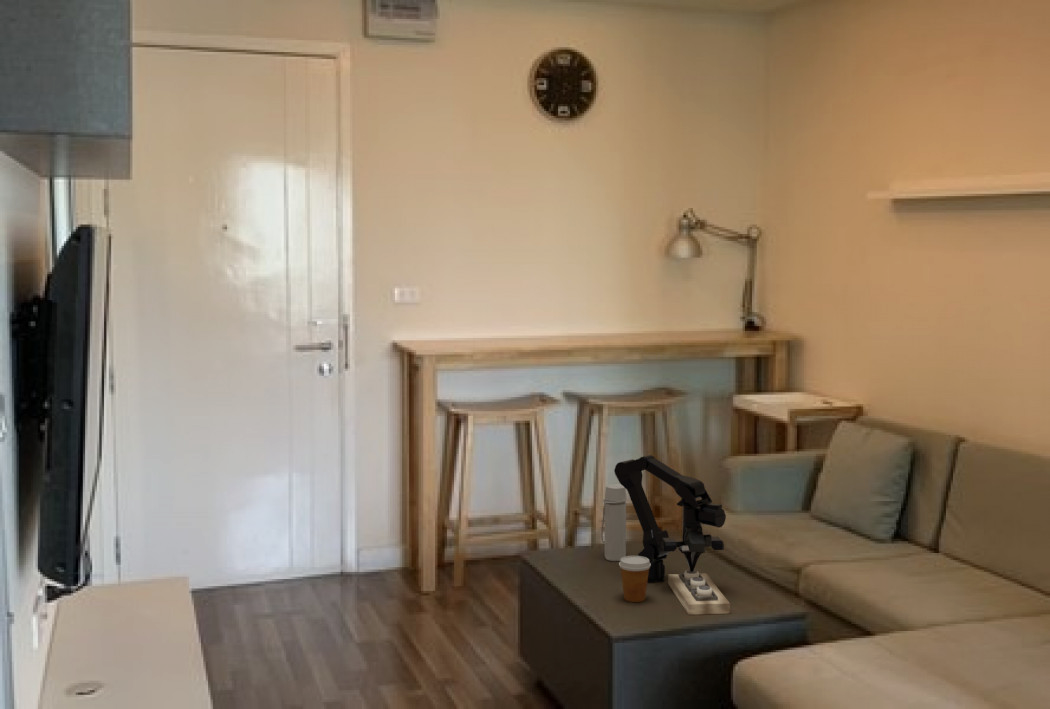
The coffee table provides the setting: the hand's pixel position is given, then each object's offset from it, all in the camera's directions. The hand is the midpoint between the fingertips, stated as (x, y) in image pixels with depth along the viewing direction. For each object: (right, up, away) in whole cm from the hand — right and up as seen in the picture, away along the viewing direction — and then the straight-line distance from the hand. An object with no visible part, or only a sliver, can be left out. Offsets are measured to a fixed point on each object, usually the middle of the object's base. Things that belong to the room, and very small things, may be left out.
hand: (691, 571), depth 329 cm
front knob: (+1, -5, -16) cm, 16 cm away
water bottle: (-22, -3, +33) cm, 39 cm away
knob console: (+1, -7, -7) cm, 10 cm away
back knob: (0, -3, 0) cm, 3 cm away
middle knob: (+1, -4, -8) cm, 9 cm away
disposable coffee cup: (-18, -7, -8) cm, 21 cm away
